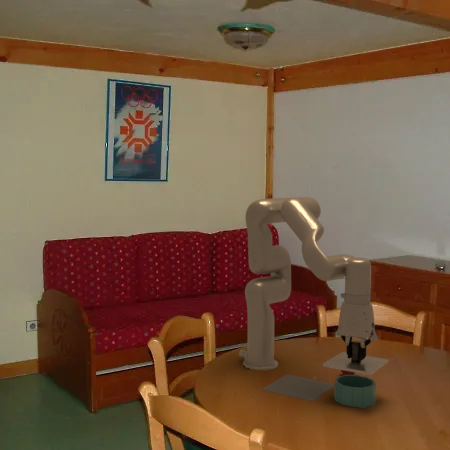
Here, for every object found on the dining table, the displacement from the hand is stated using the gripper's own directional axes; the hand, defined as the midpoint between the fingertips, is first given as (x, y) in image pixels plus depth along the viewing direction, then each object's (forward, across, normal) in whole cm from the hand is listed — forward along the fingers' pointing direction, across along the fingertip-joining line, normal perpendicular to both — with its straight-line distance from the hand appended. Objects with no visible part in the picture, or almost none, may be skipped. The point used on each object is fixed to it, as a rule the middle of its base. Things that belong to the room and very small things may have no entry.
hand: (356, 357), depth 198 cm
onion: (+14, -10, +19) cm, 26 cm away
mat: (+13, -19, 0) cm, 23 cm away
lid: (+2, 0, 0) cm, 2 cm away
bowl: (+13, 0, 0) cm, 13 cm away
